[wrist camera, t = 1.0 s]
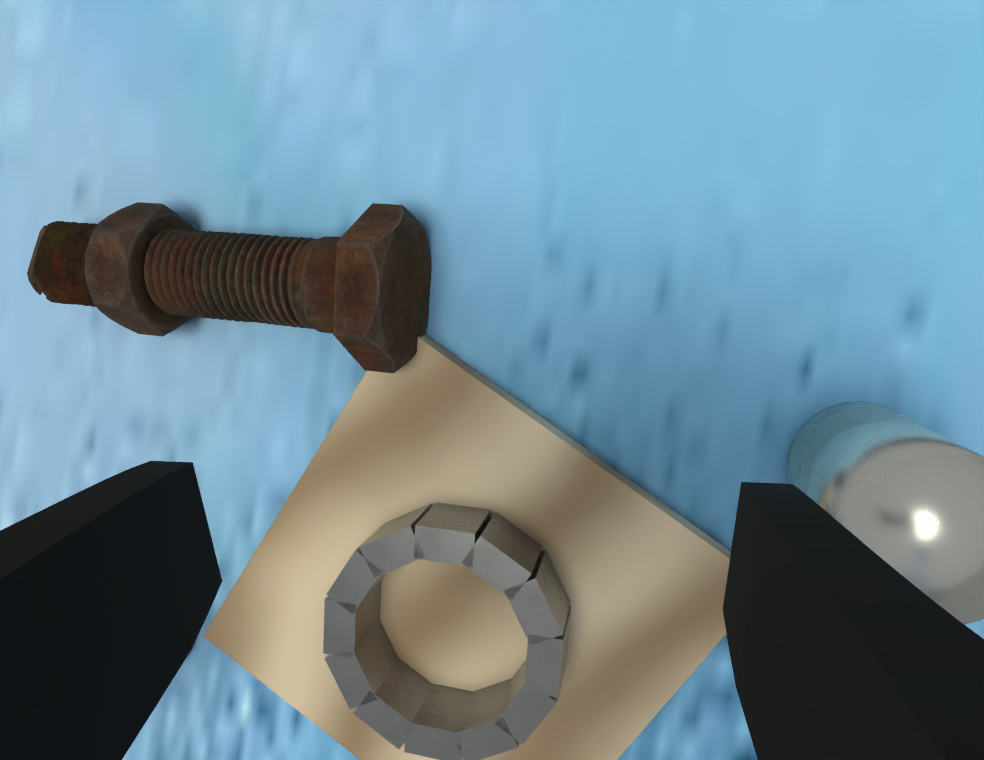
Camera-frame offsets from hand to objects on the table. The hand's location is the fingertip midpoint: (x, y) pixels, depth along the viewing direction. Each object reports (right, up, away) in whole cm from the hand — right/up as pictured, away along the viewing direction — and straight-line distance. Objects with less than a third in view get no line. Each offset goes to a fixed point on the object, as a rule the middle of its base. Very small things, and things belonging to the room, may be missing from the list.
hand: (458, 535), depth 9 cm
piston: (+13, -1, +14) cm, 19 cm away
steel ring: (-1, -7, +18) cm, 19 cm away
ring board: (-1, -7, +18) cm, 19 cm away
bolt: (-9, +6, +19) cm, 22 cm away
